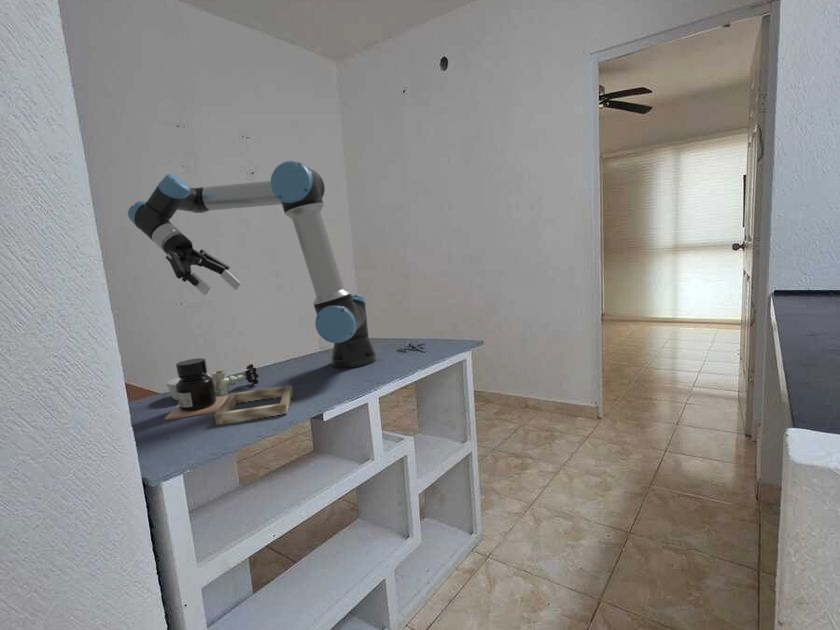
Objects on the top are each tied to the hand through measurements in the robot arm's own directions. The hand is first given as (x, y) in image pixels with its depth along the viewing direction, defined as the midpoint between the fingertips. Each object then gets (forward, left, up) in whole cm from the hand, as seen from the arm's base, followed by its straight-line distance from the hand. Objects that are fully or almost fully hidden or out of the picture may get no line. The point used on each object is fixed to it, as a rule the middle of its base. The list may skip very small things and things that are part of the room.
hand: (223, 288), depth 129 cm
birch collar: (-10, +26, -30) cm, 41 cm away
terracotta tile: (+6, +18, -30) cm, 35 cm away
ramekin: (+12, +5, -30) cm, 33 cm away
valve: (0, +6, -30) cm, 31 cm away
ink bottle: (+6, +18, -29) cm, 35 cm away
